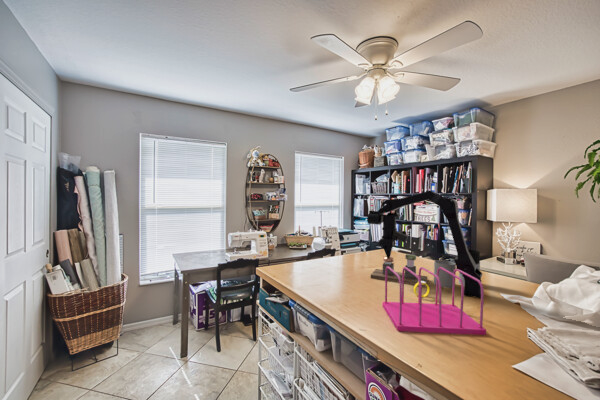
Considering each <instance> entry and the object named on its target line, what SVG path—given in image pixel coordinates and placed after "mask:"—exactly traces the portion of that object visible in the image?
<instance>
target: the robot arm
mask: <svg viewBox="0 0 600 400" xmlns="http://www.w3.org/2000/svg"><path fill="white" fill-rule="evenodd" d="M424 201H430V202H432V203H434V204H435V205H436V206H439V208H440V210H441V212H442V214H443V216H445V218H446V220H447V222H448V225H449V229H450V232H451V236H452V239H453V243H454V247H455V250H456V253H457V254H456V255H457V256H456V257H455V258H454V259H453V261H454V263H455V264H456V269H459V270H461V271H463V272H465V273H467V274H469V275H471V276H473V277H475V278H476V279H478V280H480V281H481V282H482V277H483V272H481V269H480V270H479V269H477V267H476V264H475V262H474V260H473V258H472V256H471V255H470V253H469V251H468V250H469V249H468V246H467V242H466V240H465V236H464V232H463V228H462V227H461V226H462V225H461V222H460V220H459V218H460V217H459V205H458V204H459V203H458V202H457V200H456V199H454V198H452V197H451V198H450V197H448V198H447V197H445V196H443V195H441V194H438V193H437V192H435V191H433V190H426V191H424V192H420V193H417V194H412V195H410V196H406V197H402V198H391V199H389V198H388V199H384V200H383V201H382V203H381V207H379V209H378V210H369V211H368V215H367V217H366V220H367V223H368V225H379V226H380V225H382V227H381V229H382V235H381V238H380V239H379V240H378V246H382V249H383V250H384V253H385V255H386V256H385V257H387V258H390V257H391V255H392V251H393V248H394V246H396V244H397V242H398V241H400V242H402V243H406V242H407V241H408V237H409V235H408V234H407V231H405V230H402V231H398V229H397V227H396V225H397V224H396V223H397V221H396V220H397V217H398V218H399V217H401V214H400V213H398V211H397V210H399V209H401V208H403V207H406V206H409V205H413V204H418V203H422V202H424ZM394 241H396V242H394ZM460 273H461V272H460ZM461 274H462V275H463V276H464V279H465V284H464V296H466V297H472V298H473V297H474V298H479V299H481V287H480V284H479V283H478V282H477V281H476V280H474V279H472V278H470V277H468V276H467V275H465V274H463V273H461Z"/></svg>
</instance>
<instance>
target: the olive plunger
mask: <svg viewBox="0 0 600 400" xmlns="http://www.w3.org/2000/svg"><path fill="white" fill-rule="evenodd" d="M405 259H406V265H407V267H409V268H414V266H415V261H416V260H417V254H409V253H405Z"/></svg>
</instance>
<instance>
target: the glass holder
mask: <svg viewBox="0 0 600 400" xmlns="http://www.w3.org/2000/svg"><path fill="white" fill-rule="evenodd" d="M468 251H469V253H470V255H471V256H472V258H473V260H474V262H475V264H476V267H477V269H479V270H480V271H481V261H480V256H481V255H480V253H481V252H480V250H475V249H468ZM458 272H459V271H458ZM458 277H459V278H461V280H462V281H463V284H465V279H464V276H463V275H462V274H461V273H460V272H459V273H458ZM457 283H458V284H459V285H461V283H460V281H459V280H458V281H457Z"/></svg>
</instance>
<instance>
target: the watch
mask: <svg viewBox="0 0 600 400" xmlns="http://www.w3.org/2000/svg"><path fill="white" fill-rule="evenodd" d="M421 284H422V285H425V284H426V282H424V281H421ZM418 285H419V281H418V283H416V284H415V285H413V293H414V294H415V296H416V297H418V294H417V288H418V287H419V286H418ZM430 292H431V288H430V286H429V285H428V283H427V284H426V292H425V294H422V298H427V297H428V296H429V295H430Z"/></svg>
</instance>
